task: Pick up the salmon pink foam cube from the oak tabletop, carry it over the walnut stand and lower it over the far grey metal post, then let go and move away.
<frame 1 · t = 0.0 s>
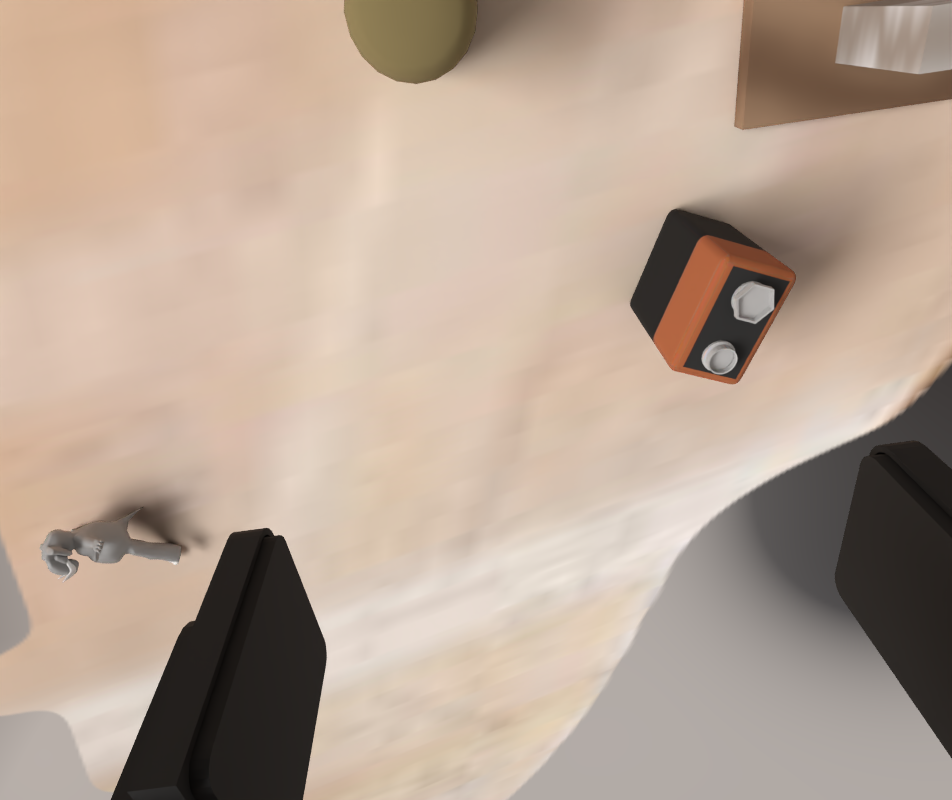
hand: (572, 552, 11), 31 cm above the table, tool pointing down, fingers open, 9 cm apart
cork: (417, 9, 33), on the table
grey animal figurine: (129, 513, 50), on the table
battery: (676, 264, 41), on the table
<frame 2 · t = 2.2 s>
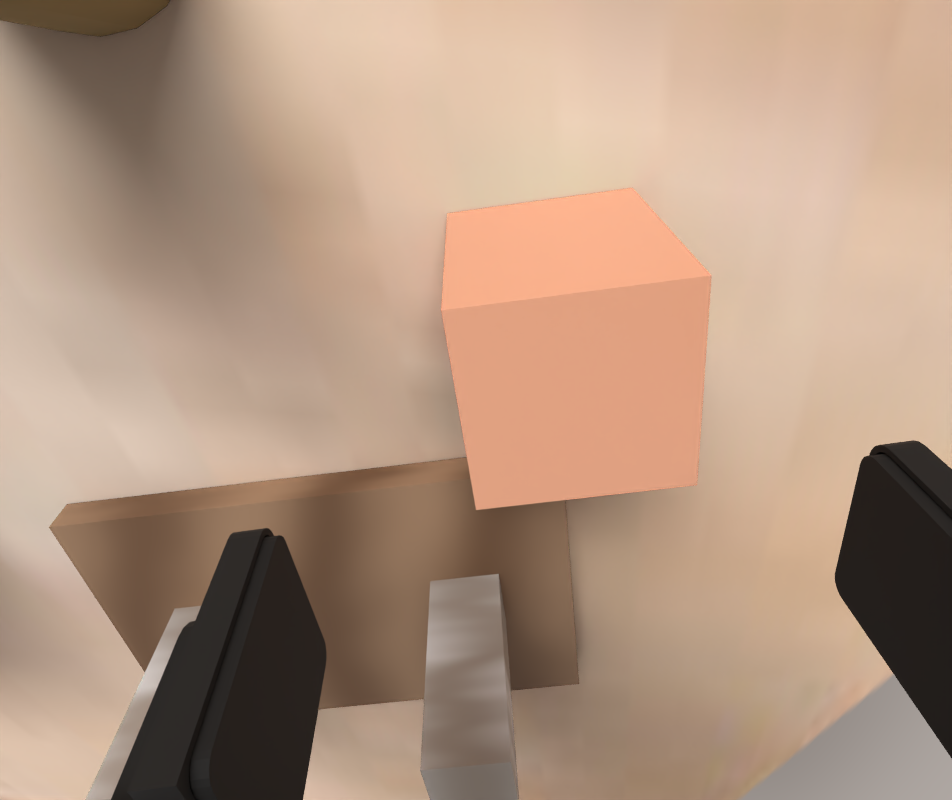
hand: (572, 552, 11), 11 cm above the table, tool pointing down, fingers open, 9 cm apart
salmon pink foam cube: (545, 287, 19), on the table
peg stand: (347, 590, 26), on the table
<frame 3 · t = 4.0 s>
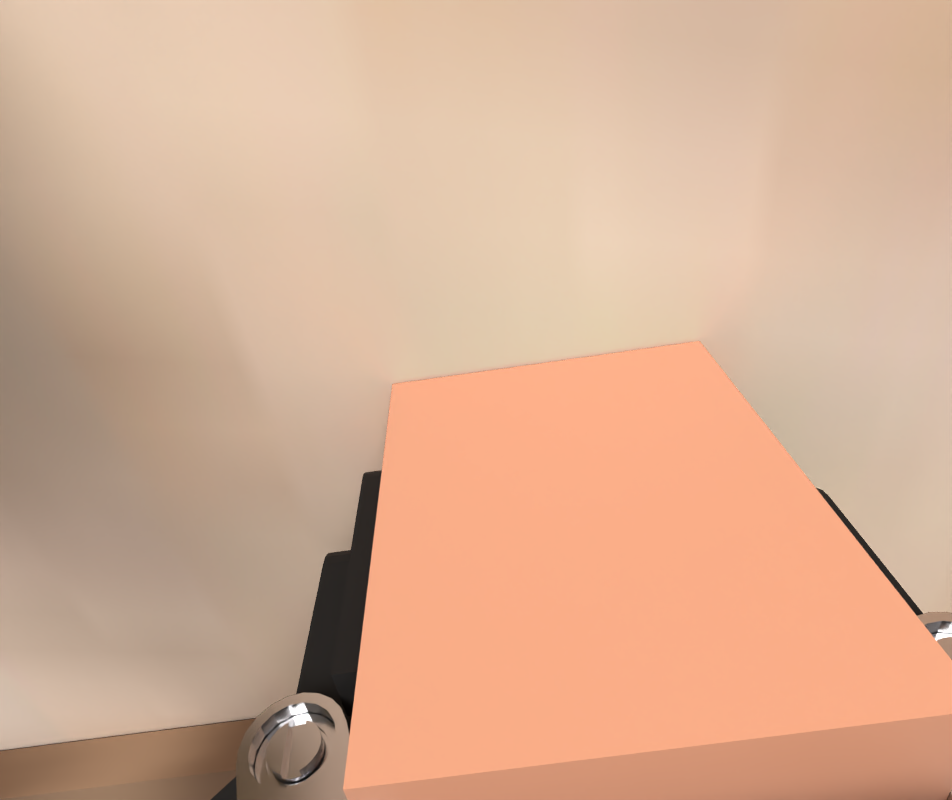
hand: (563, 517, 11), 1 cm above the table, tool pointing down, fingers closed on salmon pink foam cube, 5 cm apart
salmon pink foam cube: (555, 482, 12), on the table, touching gripper
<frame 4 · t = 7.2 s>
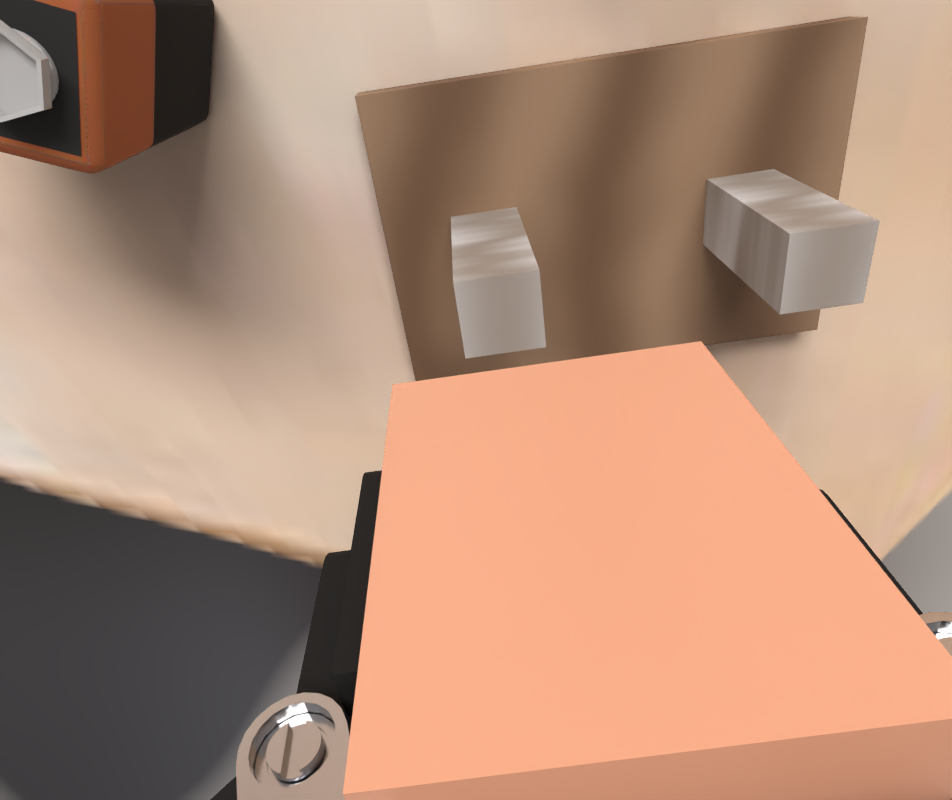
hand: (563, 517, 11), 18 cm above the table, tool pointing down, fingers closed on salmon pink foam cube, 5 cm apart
salmon pink foam cube: (556, 483, 12), point 17 cm above the table, touching gripper
peg stand: (605, 217, 27), on the table
battery: (117, 33, 23), on the table
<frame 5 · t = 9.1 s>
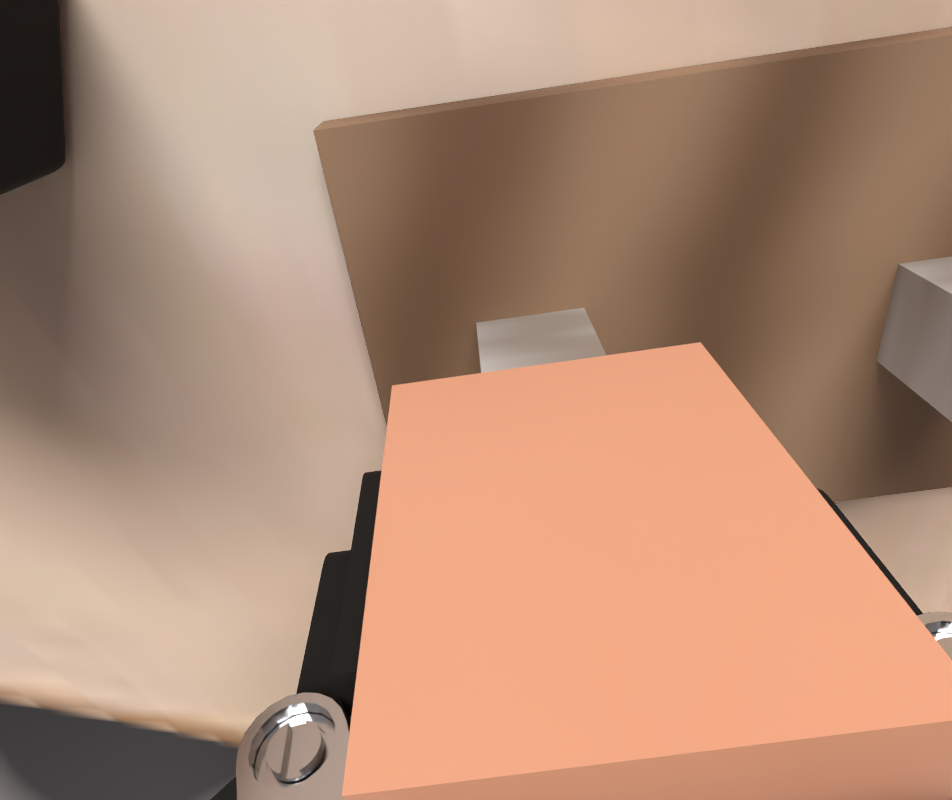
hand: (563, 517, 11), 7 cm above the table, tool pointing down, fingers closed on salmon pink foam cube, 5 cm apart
salmon pink foam cube: (555, 484, 12), point 6 cm above the table, touching gripper
peg stand: (717, 315, 17), on the table
when the fingers open (4 cm above the table, at t = 10.5 s): salmon pink foam cube stays where it is, resting on peg stand.
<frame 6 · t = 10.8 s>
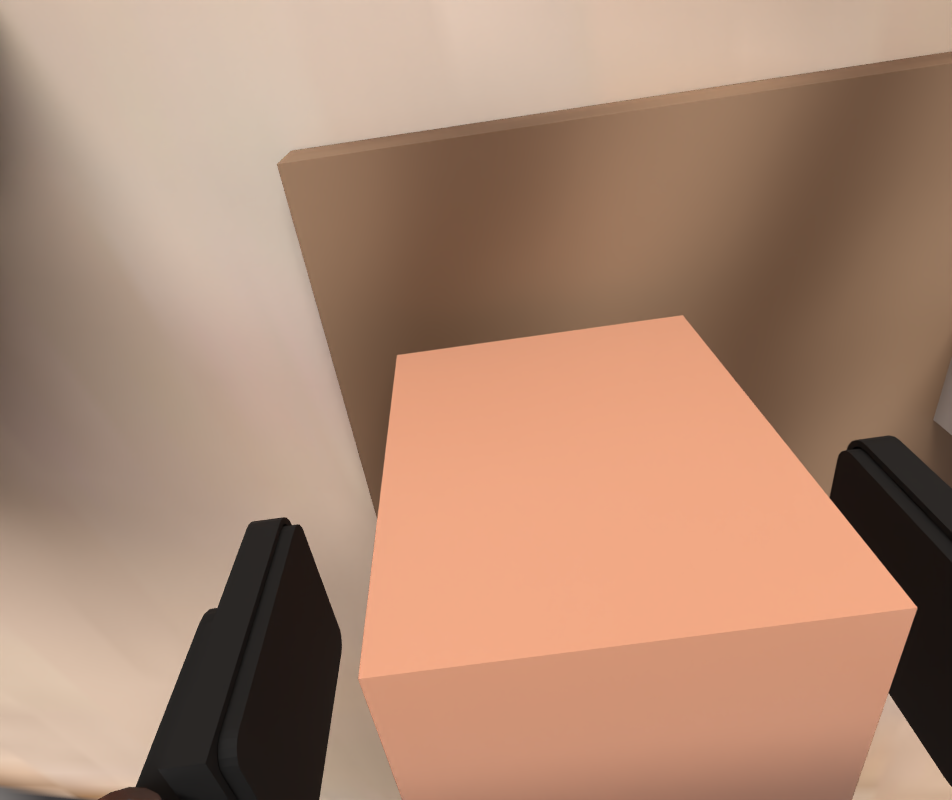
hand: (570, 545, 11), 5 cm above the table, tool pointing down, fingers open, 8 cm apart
salmon pink foam cube: (549, 450, 13), point 2 cm above the table, touching peg stand
peg stand: (749, 366, 15), on the table
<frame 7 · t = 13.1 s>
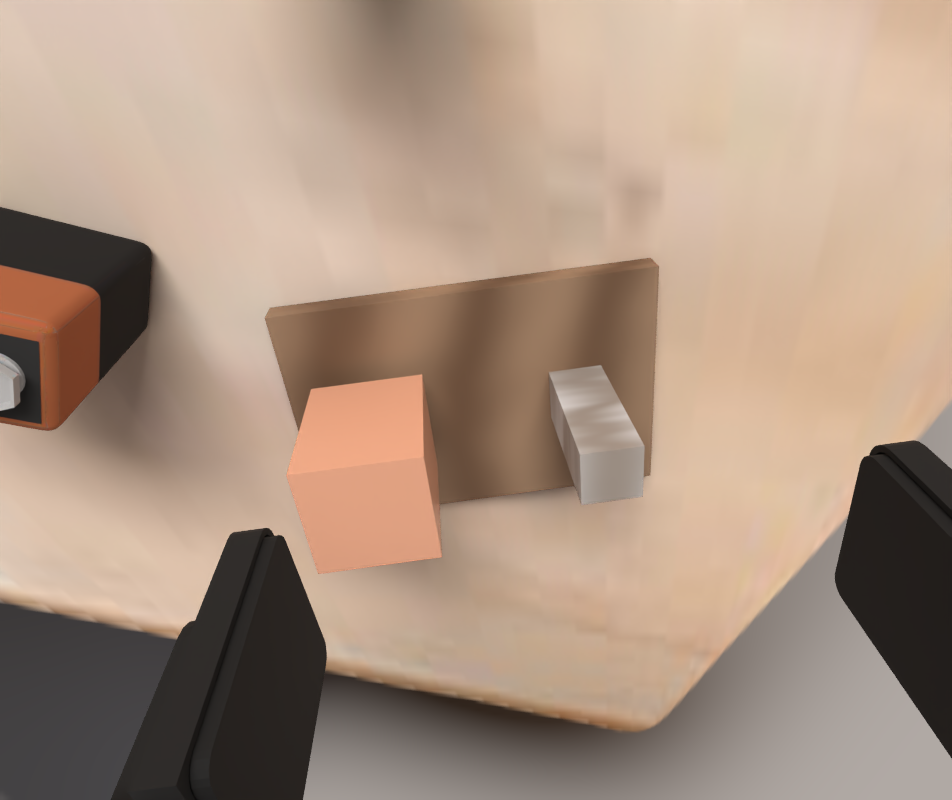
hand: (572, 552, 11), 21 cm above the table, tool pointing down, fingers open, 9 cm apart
salmon pink foam cube: (377, 428, 31), point 2 cm above the table, touching peg stand
peg stand: (474, 392, 33), on the table
battery: (73, 266, 28), on the table
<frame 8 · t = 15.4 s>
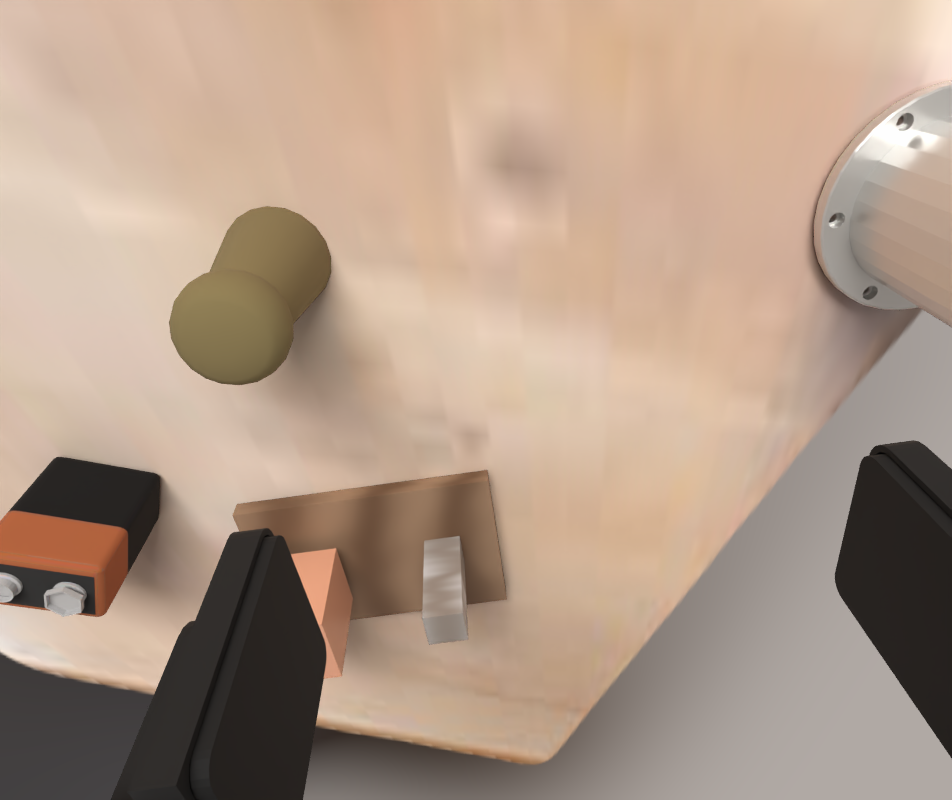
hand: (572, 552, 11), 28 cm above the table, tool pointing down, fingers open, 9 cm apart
salmon pink foam cube: (309, 578, 47), point 2 cm above the table, touching peg stand
cork: (278, 258, 37), on the table
peg stand: (379, 548, 49), on the table
battery: (111, 484, 44), on the table
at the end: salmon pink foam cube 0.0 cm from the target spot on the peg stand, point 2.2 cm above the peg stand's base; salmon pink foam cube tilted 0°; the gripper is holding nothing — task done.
